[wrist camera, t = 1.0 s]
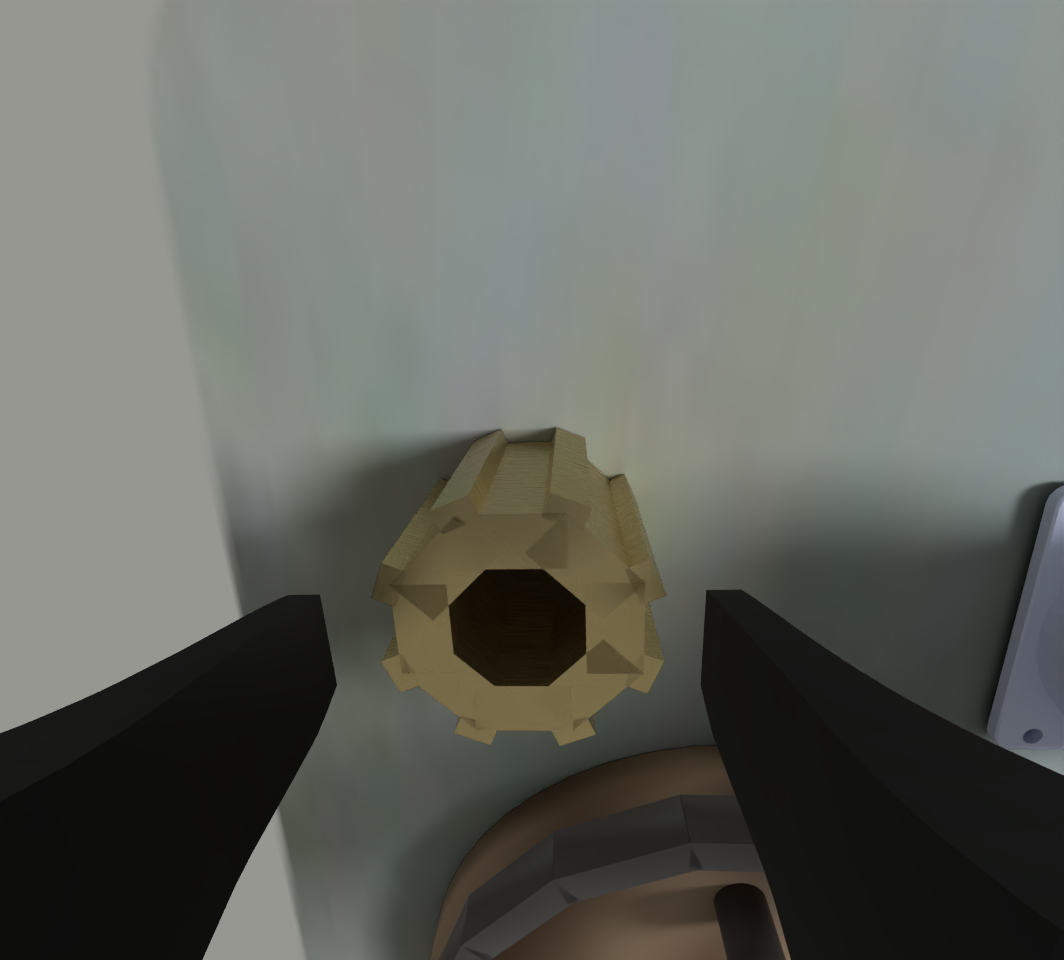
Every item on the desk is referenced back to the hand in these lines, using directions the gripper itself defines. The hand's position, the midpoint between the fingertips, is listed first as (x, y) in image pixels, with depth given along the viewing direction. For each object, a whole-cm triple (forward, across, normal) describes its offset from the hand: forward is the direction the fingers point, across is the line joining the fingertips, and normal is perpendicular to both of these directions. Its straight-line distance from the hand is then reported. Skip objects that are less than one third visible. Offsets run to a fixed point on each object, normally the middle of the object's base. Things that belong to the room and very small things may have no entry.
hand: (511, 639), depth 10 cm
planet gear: (+5, 0, 0) cm, 5 cm away
